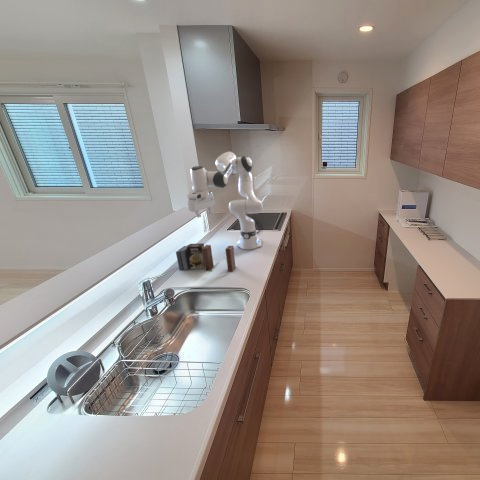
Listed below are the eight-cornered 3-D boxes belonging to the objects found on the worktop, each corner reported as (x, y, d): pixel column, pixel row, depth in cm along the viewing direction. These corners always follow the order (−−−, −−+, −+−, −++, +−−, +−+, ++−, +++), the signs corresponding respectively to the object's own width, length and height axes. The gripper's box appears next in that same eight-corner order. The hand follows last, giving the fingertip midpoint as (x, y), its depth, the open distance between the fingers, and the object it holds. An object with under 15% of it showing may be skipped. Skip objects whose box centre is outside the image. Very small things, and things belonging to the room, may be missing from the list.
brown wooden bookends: (209, 266, 169) (206, 244, 163) (235, 267, 169) (233, 245, 163) (205, 270, 164) (202, 248, 158) (232, 271, 163) (230, 249, 158)
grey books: (187, 263, 173) (183, 244, 168) (194, 263, 173) (191, 244, 168) (179, 269, 164) (175, 250, 159) (187, 270, 164) (183, 250, 159)
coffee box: (190, 269, 164) (186, 247, 159) (193, 265, 170) (189, 243, 164) (204, 268, 166) (201, 246, 160) (207, 264, 172) (203, 242, 166)
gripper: (208, 190, 163) (210, 211, 168) (184, 196, 144) (188, 218, 149) (216, 191, 162) (218, 212, 166) (193, 196, 143) (197, 219, 148)
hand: (204, 215), depth 158 cm, fingers open, 8 cm apart
